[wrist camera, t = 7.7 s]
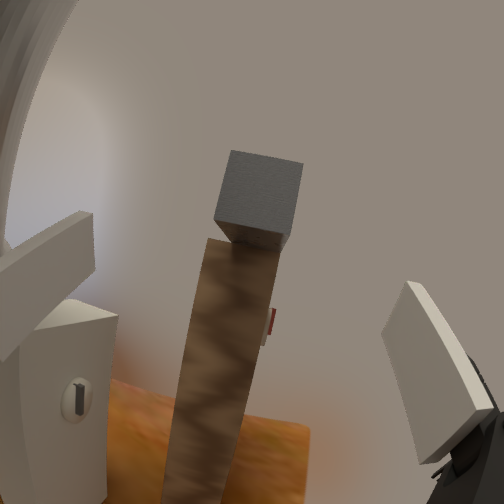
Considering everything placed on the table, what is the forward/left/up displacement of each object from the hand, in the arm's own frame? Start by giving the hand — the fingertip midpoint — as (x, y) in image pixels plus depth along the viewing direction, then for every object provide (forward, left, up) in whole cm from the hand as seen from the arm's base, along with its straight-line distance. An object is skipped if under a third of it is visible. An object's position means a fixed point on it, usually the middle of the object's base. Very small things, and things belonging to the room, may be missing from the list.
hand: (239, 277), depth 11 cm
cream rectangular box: (-13, +6, -27) cm, 31 cm away
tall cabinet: (-1, +20, -27) cm, 34 cm away
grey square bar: (0, +16, +3) cm, 16 cm away
